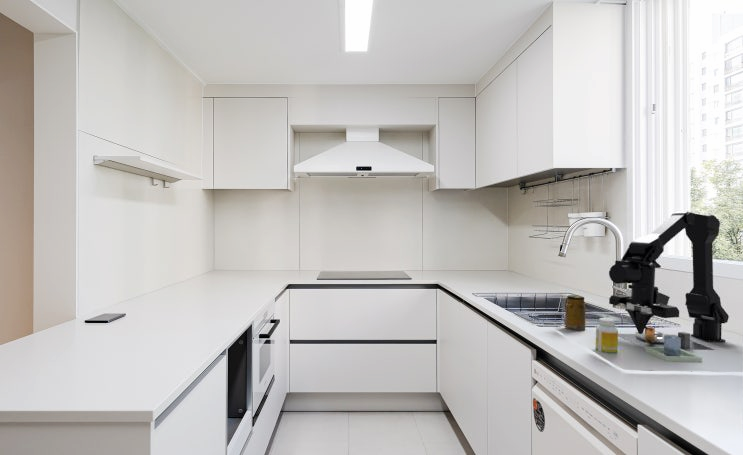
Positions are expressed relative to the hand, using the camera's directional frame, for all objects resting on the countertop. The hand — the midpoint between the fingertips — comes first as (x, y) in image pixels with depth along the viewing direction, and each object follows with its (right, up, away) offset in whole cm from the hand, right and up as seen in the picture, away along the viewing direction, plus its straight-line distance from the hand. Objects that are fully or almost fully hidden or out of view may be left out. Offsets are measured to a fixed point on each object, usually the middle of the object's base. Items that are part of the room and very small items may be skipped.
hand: (640, 333), depth 124 cm
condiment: (-12, -4, +15) cm, 19 cm away
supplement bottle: (-15, -4, -8) cm, 17 cm away
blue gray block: (+1, -3, -12) cm, 13 cm away
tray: (+1, -4, -12) cm, 13 cm away
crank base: (+7, -4, +2) cm, 8 cm away
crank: (+6, -2, +2) cm, 7 cm away
